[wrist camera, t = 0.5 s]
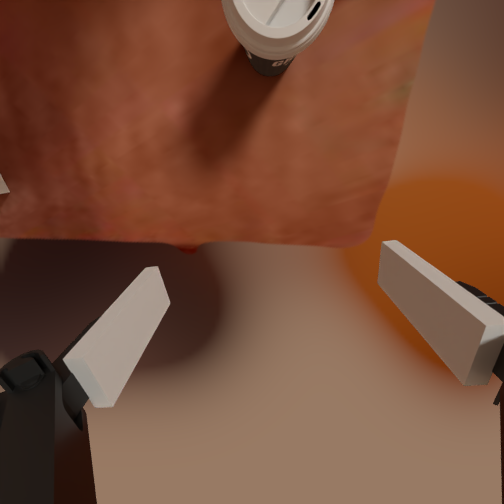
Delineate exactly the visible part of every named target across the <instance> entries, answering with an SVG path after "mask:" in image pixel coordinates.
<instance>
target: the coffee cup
mask: <svg viewBox="0 0 504 504" xmlns="http://www.w3.org/2000/svg"><path fill="white" fill-rule="evenodd" d="M221 1H222V6H223V10H224V14H225V17H226V20H227V22H228V25H229V27H230V29H231V31H232V32H233V34H234V36H235V37H236V38H237V40H238V41H239V42H240V43H241V44H242V45H243V46H244V49H245V51H246V54H247V56H248V59H249V61H250V63H251V65H252V66H253V68H254V69H255V70H256V71H257V72H258V73H260V74H262V75H265V76H276V75H278V74H280V73H282V72H283V71H284V70H286V68H287V67H288V66H289V65H290V63H291V62H292V61H293V59H294V58H295V57H296V55H297V54H298V53H300V52H302V51H303V50H304V49H306V48H307V47H308V46H309V45H310V44H311V43H312V42H313V41H314V40H315V39H316V38H317V36H318V35H319V34H320V32H321V31H322V29H323V27H324V26H325V24H326V22H327V20H328V18H329V15H330V13H331V10H332V7H333V3H334V0H221Z"/></svg>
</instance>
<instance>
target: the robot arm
mask: <svg viewBox="0 0 504 504" xmlns="http://www.w3.org/2000/svg"><path fill="white" fill-rule="evenodd" d="M378 284H379V286H380V287H381V288H382V289H383V290H384V291H385V293H386V294H387V295H388V296H389V297H390V299H391V300H392V301H393V302H394V303H395V304H396V306H398V308H399V309H400V310H401V312H402V313H403V314H404V315H405V316H406V318H407V319H408V320H409V321H410V322H411V323H412V325H413V326H414V327H415V328H416V329H417V331H418V332H419V333H420V334H421V335H422V336H423V338H424V339H425V340H426V341H427V342H428V344H429V345H430V346H431V347H432V348H433V349H434V351H435V352H436V353H437V354H438V356H439V357H440V358H441V359H442V360H443V361H444V363H445V364H446V365H447V366H448V367H449V369H450V370H451V371H452V372H453V373H454V375H455V376H456V377H457V378H458V379H459V380H460V382H461V383H462V384H463V385H464V386H471V385H487V384H488V382H489V380H490V377H491V375H492V373H494V374H495V375H496V376H497V377H498V378H499V379H500V380H501V381H502V382H503V383H502V385H501V387H500V389H499V392H498V394H497V396H496V398H495V400H494V403H493V404H495V405H498V404H499V402H500V421H501V422H500V425H501V474H502V475H501V476H502V504H504V306H502V305H501V304H497V302H496V301H495V300H493V299H492V298H490V297H487V295H486V294H484V293H483V292H481V291H480V290H478V289H477V288H475V287H473V286H470V285H468V284H465V283H463V282H461V281H458V282H454V281H453V280H452V279H450V278H449V277H447V276H446V275H445V274H443V273H442V272H440V271H439V270H438V269H436V268H435V267H433V266H432V265H430V264H429V263H427V262H426V261H425V260H423V259H422V258H421V257H419V256H418V255H416V254H415V253H414V252H412V251H411V250H409V249H408V248H407V247H405V246H404V245H402V244H401V243H399V242H398V241H397V240H392V241H384V242H382V246H381V255H380V266H379V274H378ZM169 305H170V301H169V298H168V295H167V292H166V289H165V286H164V283H163V280H162V278H161V275H160V272H159V269H158V267H148V268H145V269H144V270H143V271H142V272H141V273H140V274H139V276H138V277H137V278H136V279H135V280H134V281H133V282H132V283H131V284H130V285H129V287H128V288H127V289H126V290H125V291H124V292H123V293H122V294H121V295H120V297H119V298H118V299H117V300H116V301H115V302H114V303H113V304H112V305H111V306H110V308H109V309H108V310H107V311H106V312H105V313H104V314H103V315H102V316H100V317H98V318H97V319H95V320H94V321H93V322H91V323H90V324H89V325H88V326H87V327H86V328H85V329H84V330H83V331H82V334H79V335H78V337H77V338H76V339H75V341H73V342H72V343H71V344H70V345H69V346H68V347H67V348H66V350H64V352H63V353H62V354H61V355H60V356H59V357H58V358H57V359H56V360H55V361H54V362H53V363H51V362H50V360H49V359H48V357H47V356H46V355H45V353H44V352H43V351H41V350H33V351H30V352H27V353H24V354H22V355H20V356H18V357H16V358H14V359H12V360H11V361H10V362H8V363H7V364H6V365H4V366H3V367H2V368H1V369H0V385H1V386H2V387H3V389H4V390H5V391H4V392H2V393H0V504H97V501H96V492H95V484H94V476H93V467H92V458H91V450H90V443H89V442H90V441H89V433H88V424H87V416H86V412H85V410H84V409H83V406H84V405H85V403H86V402H87V400H88V399H90V401H91V402H92V404H93V406H94V407H95V408H102V407H113V406H114V404H115V402H116V400H117V399H118V397H119V395H120V393H121V391H122V390H123V388H124V386H125V384H126V382H127V381H128V379H129V377H130V375H131V373H132V372H133V370H134V368H135V366H136V364H137V363H138V361H139V359H140V357H141V355H142V353H143V352H144V350H145V348H146V346H147V345H148V343H149V341H150V339H151V337H152V335H153V334H154V332H155V330H156V328H157V326H158V325H159V323H160V321H161V319H162V317H163V315H164V314H165V312H166V310H167V308H168V306H169Z"/></svg>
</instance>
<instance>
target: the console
mask: <svg viewBox="0 0 504 504" xmlns="http://www.w3.org/2000/svg"><path fill="white" fill-rule="evenodd" d="M8 192H10V191H9V189H8V187H7V185H6V184H5V182H4V180H3V178H2V176H1V174H0V194H3V193H8Z"/></svg>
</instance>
